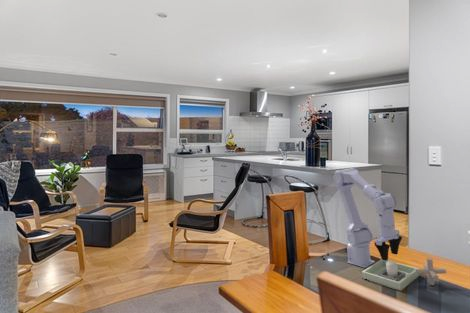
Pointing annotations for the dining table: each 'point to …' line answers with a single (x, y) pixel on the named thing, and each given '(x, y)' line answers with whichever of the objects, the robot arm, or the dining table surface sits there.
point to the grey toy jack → (430, 271)
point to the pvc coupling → (391, 269)
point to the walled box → (379, 276)
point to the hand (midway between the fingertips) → (389, 256)
